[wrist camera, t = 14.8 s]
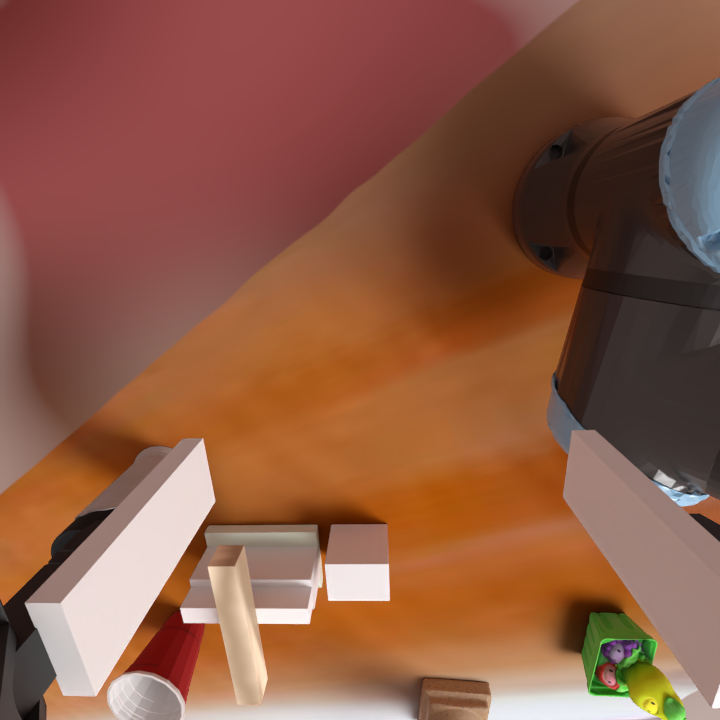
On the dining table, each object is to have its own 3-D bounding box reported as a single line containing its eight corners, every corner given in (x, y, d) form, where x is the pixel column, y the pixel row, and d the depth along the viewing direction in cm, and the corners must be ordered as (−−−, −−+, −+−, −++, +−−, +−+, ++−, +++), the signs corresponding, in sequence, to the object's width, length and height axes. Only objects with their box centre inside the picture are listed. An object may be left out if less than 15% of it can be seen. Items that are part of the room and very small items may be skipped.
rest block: (387, 524, 54) (388, 564, 48) (388, 557, 56) (389, 600, 50) (331, 524, 55) (324, 564, 48) (334, 557, 57) (328, 600, 50)
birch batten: (244, 545, 44) (234, 566, 41) (267, 678, 51) (261, 704, 48) (218, 545, 44) (207, 566, 41) (245, 678, 51) (237, 704, 48)
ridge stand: (317, 524, 55) (304, 584, 46) (323, 578, 58) (312, 645, 49) (208, 525, 56) (173, 584, 46) (219, 578, 59) (189, 644, 50)
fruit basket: (582, 604, 57) (629, 689, 47) (644, 606, 57) (705, 693, 46) (570, 659, 61) (612, 749, 50) (628, 661, 61) (682, 753, 50)
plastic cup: (194, 587, 60) (151, 670, 48) (232, 633, 63) (200, 722, 51) (140, 609, 62) (86, 693, 50) (179, 653, 65) (136, 742, 53)
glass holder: (176, 438, 52) (99, 515, 37) (224, 520, 56) (171, 618, 41) (121, 456, 53) (27, 538, 39) (172, 535, 57) (103, 636, 43)
